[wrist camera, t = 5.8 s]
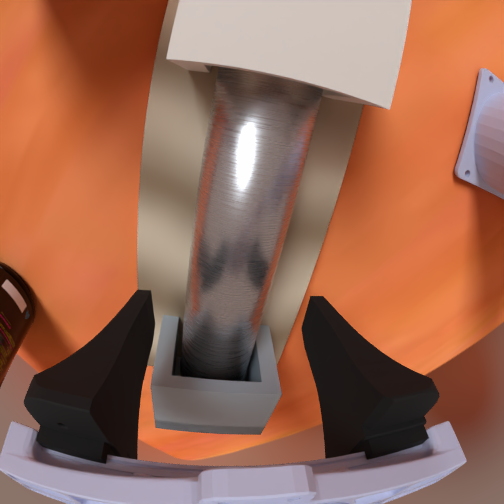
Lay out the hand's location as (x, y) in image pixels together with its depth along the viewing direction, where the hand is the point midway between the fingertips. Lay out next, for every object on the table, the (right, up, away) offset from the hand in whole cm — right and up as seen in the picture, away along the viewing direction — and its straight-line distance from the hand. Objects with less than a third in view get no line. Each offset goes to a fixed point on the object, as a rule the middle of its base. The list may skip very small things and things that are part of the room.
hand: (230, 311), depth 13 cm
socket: (-2, -4, +7) cm, 8 cm away
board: (0, +5, +2) cm, 6 cm away
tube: (0, +4, +2) cm, 4 cm away
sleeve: (+2, +12, -3) cm, 13 cm away
